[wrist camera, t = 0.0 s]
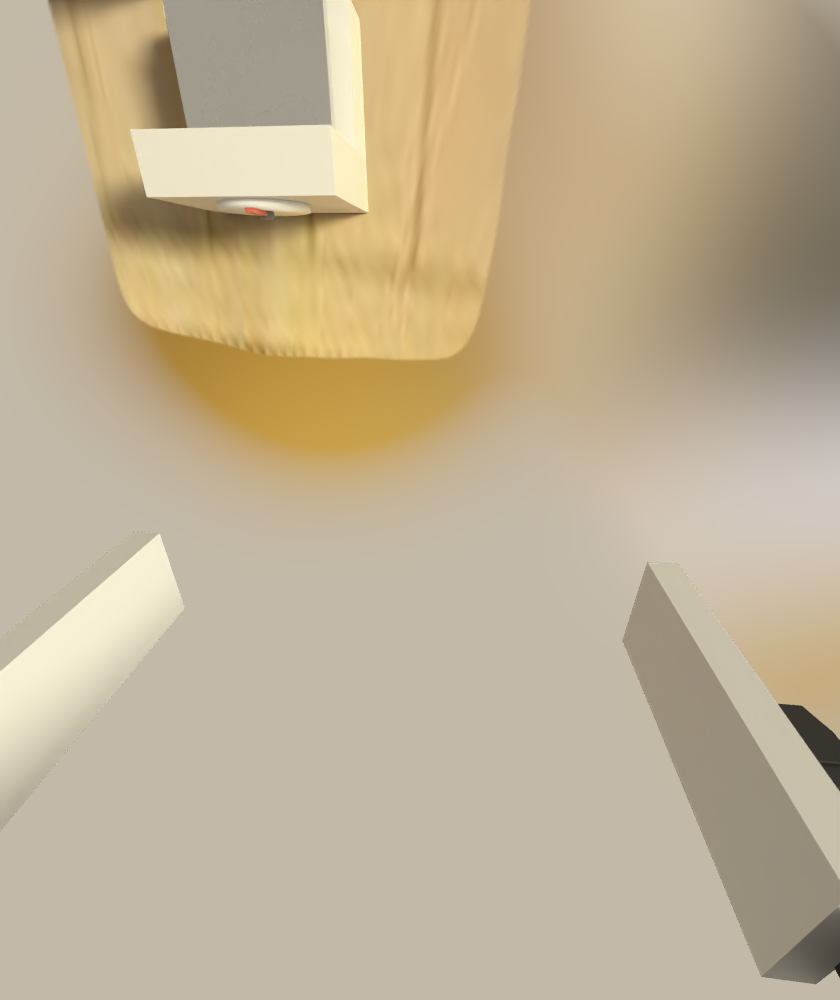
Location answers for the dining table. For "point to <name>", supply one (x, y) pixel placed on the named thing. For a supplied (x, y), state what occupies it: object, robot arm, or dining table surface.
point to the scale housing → (271, 151)
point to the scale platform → (252, 62)
